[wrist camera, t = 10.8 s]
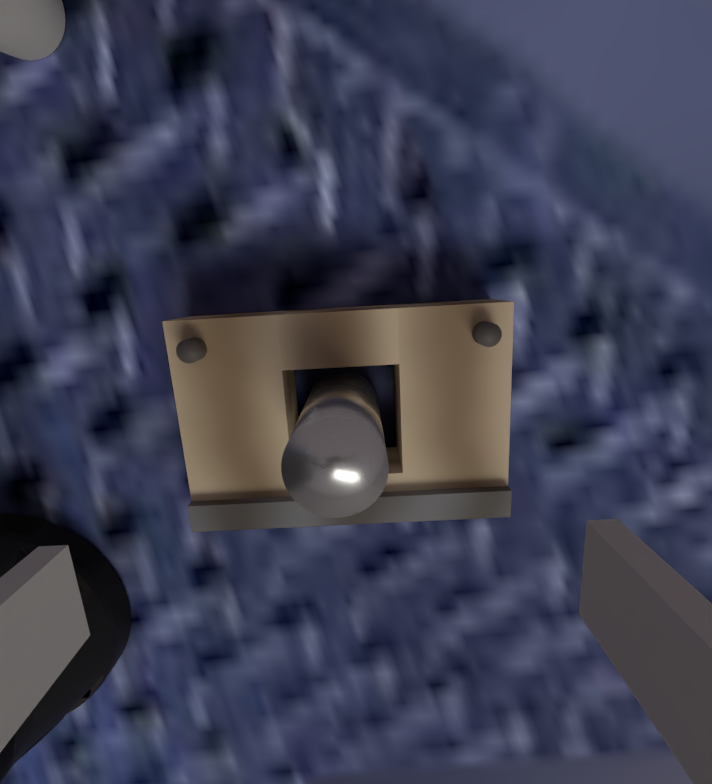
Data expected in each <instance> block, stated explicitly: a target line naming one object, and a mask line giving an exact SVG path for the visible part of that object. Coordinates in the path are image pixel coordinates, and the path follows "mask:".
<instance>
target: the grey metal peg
mask: <svg viewBox="0 0 712 784" xmlns="http://www.w3.org/2000/svg"><path fill="white" fill-rule="evenodd" d="M281 473H282V478H283V482H284V485H285V487H286V489H287V491H288V492H289V494H290V495H291V497H292V498H293V499H294V500H295V501H296V502H297V503H298V504H299V505H300V506H302V507H303V508H305V509H306V510H308V511H310V512H312V513H314V514H317V515H320V516H324V517H331V518H340V517H347V516H351V515H354V514H357V513H359V512H361V511H363V510H365V509H366V508H368V507H369V506H371V505H372V504H373V503H374V502H375V501H376V500H377V499H378V498H379V496H380V495H381V493H382V492H383V490H384V488H385V486H386V482H387V479H388V473H389V464H388V457H387V451H386V445H385V440H384V434H383V428H382V423H381V417H380V411H379V405H378V400H377V395H376V392H375V390H374V388H373V386H372V385H371V383H370V382H369V381H368V380H367V379H366V378H364V377H363V376H361V375H360V374H358V373H355V372H352V371H347V370H339V371H334V372H330V373H328V374H326V375H324V376H323V377H321V378H320V379H319V380H318V381H317V382H316V383H315V385H314V386H313V388H312V390H311V392H310V394H309V397H308V399H307V401H306V403H305V405H304V408H303V410H302V412H301V414H300V416H299V419H298V421H297V423H296V425H295V427H294V430H293V432H292V434H291V436H290V438H289V441H288V443H287V445H286V447H285V450H284V452H283V456H282V461H281Z"/></svg>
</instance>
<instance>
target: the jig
mask: <svg viewBox="0 0 712 784" xmlns="http://www.w3.org/2000/svg"><path fill="white" fill-rule="evenodd" d="M513 316H514V302H513V301H503V300H494V299H484V300H466V301H449V302H431V303H413V304H395V305H378V306H360V307H342V308H324V309H307V310H289V311H271V312H254V313H236V314H218V315H200V316H189V317H183V318H178V319H173V320H167V321H162V323H163V329H164V335H165V341H166V347H167V353H168V359H169V366H170V372H171V378H172V384H173V390H174V396H175V402H176V408H177V414H178V420H179V427H180V433H181V439H182V445H183V451H184V457H185V463H186V469H187V475H188V482H189V488H190V494H191V500H192V502H191V503H190V504H189V505H188V512H189V518H190V524H191V529H192V532H203V531H224V530H245V529H266V528H287V527H308V526H329V525H350V524H371V523H392V522H413V521H434V520H455V519H476V518H498V517H511V493H512V491H511V489H510V488H509V487H508V466H509V436H510V406H511V376H512V346H513ZM375 365H394V389H395V418H396V447H386V451H387V457H388V464H389V473H388V479H387V482H386V486H385V488H384V490H383V492H382V493H381V495H380V496H379V498H378V499H377V500H376V501H375V502H374V503H373V504H372V505H371V506H369V507H368V508H366V509H365V510H363V511H361V512H359V513H357V514H354V515H351V516H347V517H340V518H331V517H324V516H320V515H317V514H314V513H312V512H310V511H308V510H306V509H305V508H303V507H302V506H300V505H299V504H298V503H297V502H296V501H295V500H294V499H293V498H292V497H291V495H290V494H289V492H288V491H287V489H286V487H285V485H284V482H283V478H282V473H281V461H282V456H283V452H284V450H285V447H286V445H287V443H288V441H289V438H290V436H291V434H292V432H293V430H294V427H295V425H296V423H297V421H298V419H299V417H298V406H297V395H296V384H295V373H294V370H301V369H320V368H338V367H357V366H375Z"/></svg>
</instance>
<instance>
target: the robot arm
mask: <svg viewBox="0 0 712 784" xmlns="http://www.w3.org/2000/svg"><path fill="white" fill-rule="evenodd" d="M579 614H580V616H581V617H582V619H583V620H584V622H585V623H586V625H587V626H588V628H589V629H590V631H591V632H592V634H593V635H594V637H595V638H596V640H597V641H598V643H599V644H600V646H601V647H602V649H603V650H604V652H605V653H606V655H607V656H608V658H609V659H610V660H611V662H612V663H613V665H614V666H615V668H616V669H617V671H618V672H619V674H620V675H621V677H622V678H623V680H624V681H625V683H626V684H627V686H628V687H629V689H630V690H631V692H632V693H633V695H634V696H635V698H636V699H637V701H638V702H639V704H640V705H641V706H642V708H643V709H644V711H645V712H646V714H647V715H648V717H649V718H650V720H651V721H652V723H653V724H654V726H655V727H656V729H657V730H658V732H659V733H660V735H661V736H662V738H663V739H664V741H665V742H666V744H667V745H668V747H669V748H670V750H671V751H672V752H673V754H674V755H675V757H676V758H677V760H678V761H679V763H680V764H681V766H682V767H683V769H684V770H685V772H686V773H687V775H688V776H689V778H690V779H691V781H692V782H693V784H712V603H711V602H709V601H708V600H707V599H706V598H705V597H704V596H703V595H702V594H700V593H699V592H698V591H697V590H696V589H695V588H694V587H693V586H692V585H690V584H689V583H688V582H687V581H686V580H685V579H684V578H683V577H682V576H680V575H679V574H678V573H677V572H676V571H675V570H674V569H673V568H672V567H670V566H669V565H668V564H667V563H666V562H665V561H664V560H663V559H662V558H660V557H659V556H658V555H657V554H656V553H655V552H654V551H653V550H652V549H650V548H649V547H648V546H647V545H646V544H645V543H644V542H643V541H642V540H640V539H639V538H638V537H637V536H636V535H635V534H634V533H633V532H632V531H630V530H629V529H628V528H627V527H626V526H625V525H624V524H623V523H621V522H620V521H619V520H618V519H610V520H588V521H587V524H586V536H585V548H584V560H583V572H582V583H581V595H580V607H579ZM130 626H131V615H130V607H129V602H128V599H127V595H126V593H125V590H124V588H123V585H122V583H121V581H120V580H119V578H118V576H117V575H116V573H115V571H114V570H113V569H112V567H111V566H110V565H109V563H108V562H107V561H106V560H105V559H104V558H103V557H102V556H101V555H100V554H99V553H98V552H97V551H96V550H95V549H94V548H93V547H92V546H90V545H89V544H88V543H87V542H85V541H84V540H82V539H81V538H80V537H78V536H76V535H75V534H73V533H71V532H69V531H68V530H66V529H64V528H61V527H59V526H57V525H55V524H52V523H49V522H46V521H43V520H40V519H36V518H32V517H27V516H20V515H8V514H3V515H0V782H1V781H2V780H3V778H4V777H5V776H6V774H7V773H8V772H9V770H10V769H11V767H12V766H13V765H14V764H15V762H17V761H18V760H19V759H20V758H21V757H22V756H23V755H24V754H26V753H27V752H28V751H29V750H30V749H31V748H32V747H34V746H35V745H36V744H37V743H38V742H39V741H40V740H41V739H42V738H43V737H45V736H46V735H47V734H48V733H49V732H50V731H51V730H52V729H53V728H54V727H55V726H56V725H57V724H58V723H59V722H60V721H61V720H62V719H63V718H64V716H65V715H66V714H67V713H69V712H71V711H73V710H74V709H76V708H77V707H79V706H80V705H81V704H83V703H84V702H85V701H86V700H87V699H88V698H90V697H91V696H92V695H93V694H94V693H95V692H96V691H97V690H98V688H99V687H100V686H101V685H102V683H103V682H104V681H105V679H106V678H107V676H108V675H109V673H110V672H111V670H112V669H113V667H114V665H115V664H116V662H117V661H118V659H119V658H120V656H121V655H122V653H123V651H124V649H125V647H126V644H127V641H128V638H129V633H130Z"/></svg>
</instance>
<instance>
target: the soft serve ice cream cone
mask: <svg viewBox="0 0 712 784" xmlns="http://www.w3.org/2000/svg"><path fill="white" fill-rule="evenodd" d="M64 31H65V11H64V7H63V3H62V0H0V52H3V53H5V54H8V55H11V56H13V57H16V58H19V59H22V60H30V61H32V60H39V59H42V58H45V57H47V56H48V55H50V54H51V53H53V52H54V51H55V49H56V48H57V47H58V46H59V44H60V42H61V40H62V38H63V34H64Z"/></svg>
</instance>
